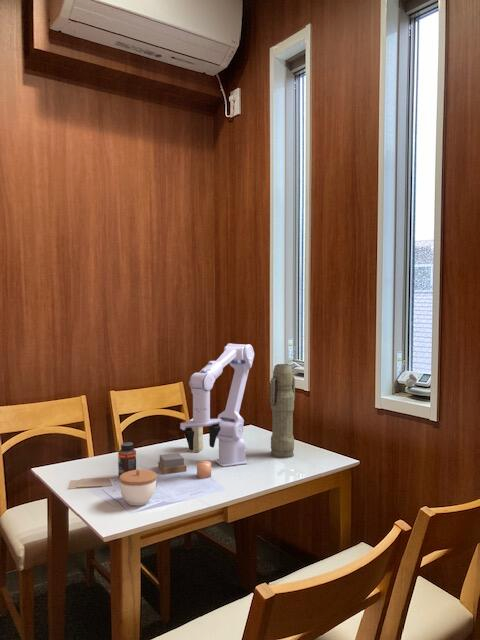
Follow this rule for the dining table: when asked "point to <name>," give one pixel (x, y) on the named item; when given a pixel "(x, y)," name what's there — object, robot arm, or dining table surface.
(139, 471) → the lidded jar
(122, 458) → the supplement bottle
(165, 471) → the walnut slab
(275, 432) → the thermos
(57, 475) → the dining table surface
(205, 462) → the terracotta cylinder
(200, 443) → the skincare box
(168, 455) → the grey flat block
